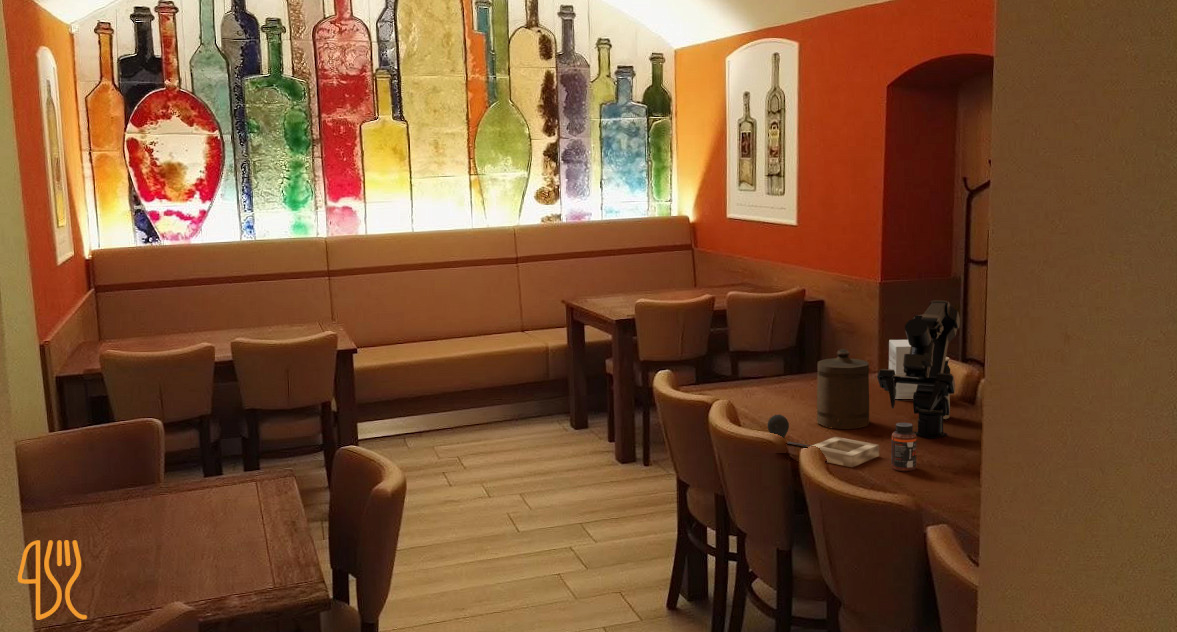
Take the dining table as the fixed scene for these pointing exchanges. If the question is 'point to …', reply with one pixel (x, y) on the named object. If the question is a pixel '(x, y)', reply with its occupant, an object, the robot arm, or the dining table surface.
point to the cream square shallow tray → (847, 451)
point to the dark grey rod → (798, 444)
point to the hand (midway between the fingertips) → (910, 409)
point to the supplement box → (900, 367)
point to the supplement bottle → (904, 448)
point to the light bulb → (778, 425)
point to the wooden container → (843, 392)
